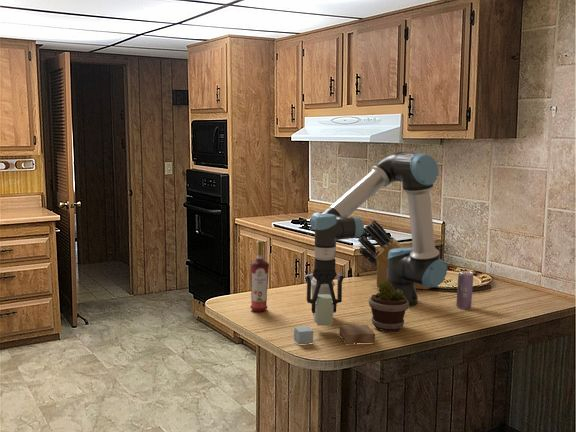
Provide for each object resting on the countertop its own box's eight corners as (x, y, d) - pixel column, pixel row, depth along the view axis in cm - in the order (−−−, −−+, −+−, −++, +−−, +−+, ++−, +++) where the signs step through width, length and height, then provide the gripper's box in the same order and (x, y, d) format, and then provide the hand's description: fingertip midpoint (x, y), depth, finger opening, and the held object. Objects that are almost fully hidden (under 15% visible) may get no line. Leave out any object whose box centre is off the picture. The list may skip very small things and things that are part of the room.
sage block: (329, 320, 230) (330, 294, 228) (331, 325, 225) (332, 298, 223) (315, 321, 229) (316, 294, 228) (317, 325, 224) (318, 298, 223)
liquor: (250, 313, 247) (251, 242, 243) (248, 307, 254) (249, 239, 250) (269, 312, 248) (270, 242, 244) (266, 307, 255) (268, 239, 251)
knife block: (356, 280, 302) (359, 216, 298) (431, 284, 298) (435, 220, 293) (355, 286, 291) (358, 220, 287) (433, 291, 287) (437, 223, 282)
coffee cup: (316, 321, 239) (318, 283, 237) (304, 314, 247) (305, 277, 245) (338, 318, 243) (339, 280, 241) (325, 311, 252) (326, 274, 249)
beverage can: (472, 306, 263) (474, 271, 261) (469, 310, 258) (472, 274, 256) (457, 304, 266) (459, 270, 264) (454, 308, 260) (457, 273, 258)
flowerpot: (380, 318, 245) (382, 268, 242) (415, 327, 235) (418, 275, 232) (359, 327, 233) (361, 274, 230) (395, 337, 224) (398, 282, 221)
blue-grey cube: (307, 339, 219) (307, 326, 218) (312, 344, 214) (313, 330, 214) (293, 341, 217) (294, 327, 217) (299, 346, 213) (299, 331, 212)
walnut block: (366, 335, 226) (366, 324, 225) (374, 345, 216) (375, 333, 216) (339, 336, 224) (339, 325, 224) (346, 346, 215) (346, 334, 214)
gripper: (300, 260, 219) (299, 325, 223) (352, 260, 220) (350, 324, 224) (298, 255, 226) (297, 318, 230) (348, 255, 228) (346, 317, 231)
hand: (323, 321), depth 227 cm, fingers closed on sage block, 5 cm apart
